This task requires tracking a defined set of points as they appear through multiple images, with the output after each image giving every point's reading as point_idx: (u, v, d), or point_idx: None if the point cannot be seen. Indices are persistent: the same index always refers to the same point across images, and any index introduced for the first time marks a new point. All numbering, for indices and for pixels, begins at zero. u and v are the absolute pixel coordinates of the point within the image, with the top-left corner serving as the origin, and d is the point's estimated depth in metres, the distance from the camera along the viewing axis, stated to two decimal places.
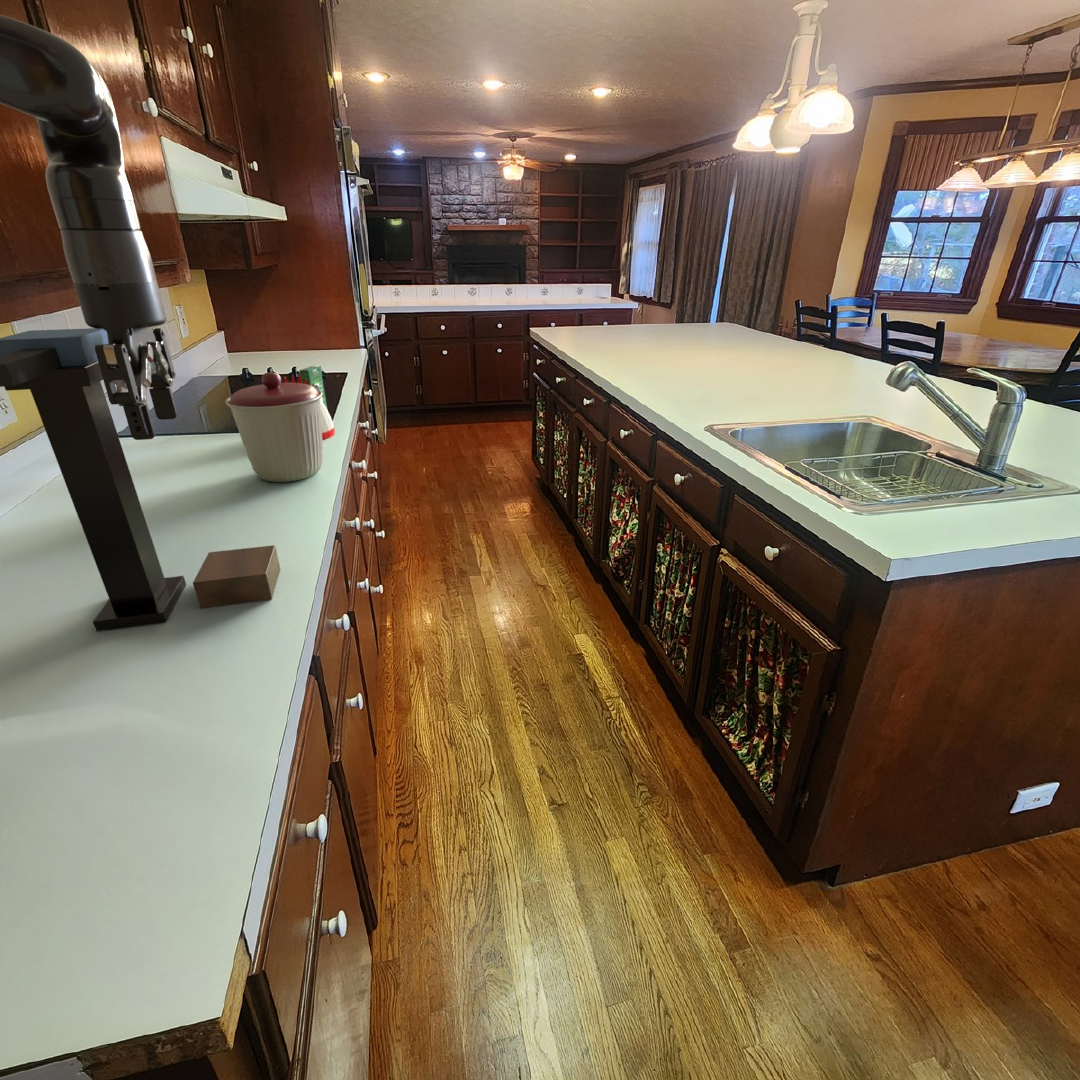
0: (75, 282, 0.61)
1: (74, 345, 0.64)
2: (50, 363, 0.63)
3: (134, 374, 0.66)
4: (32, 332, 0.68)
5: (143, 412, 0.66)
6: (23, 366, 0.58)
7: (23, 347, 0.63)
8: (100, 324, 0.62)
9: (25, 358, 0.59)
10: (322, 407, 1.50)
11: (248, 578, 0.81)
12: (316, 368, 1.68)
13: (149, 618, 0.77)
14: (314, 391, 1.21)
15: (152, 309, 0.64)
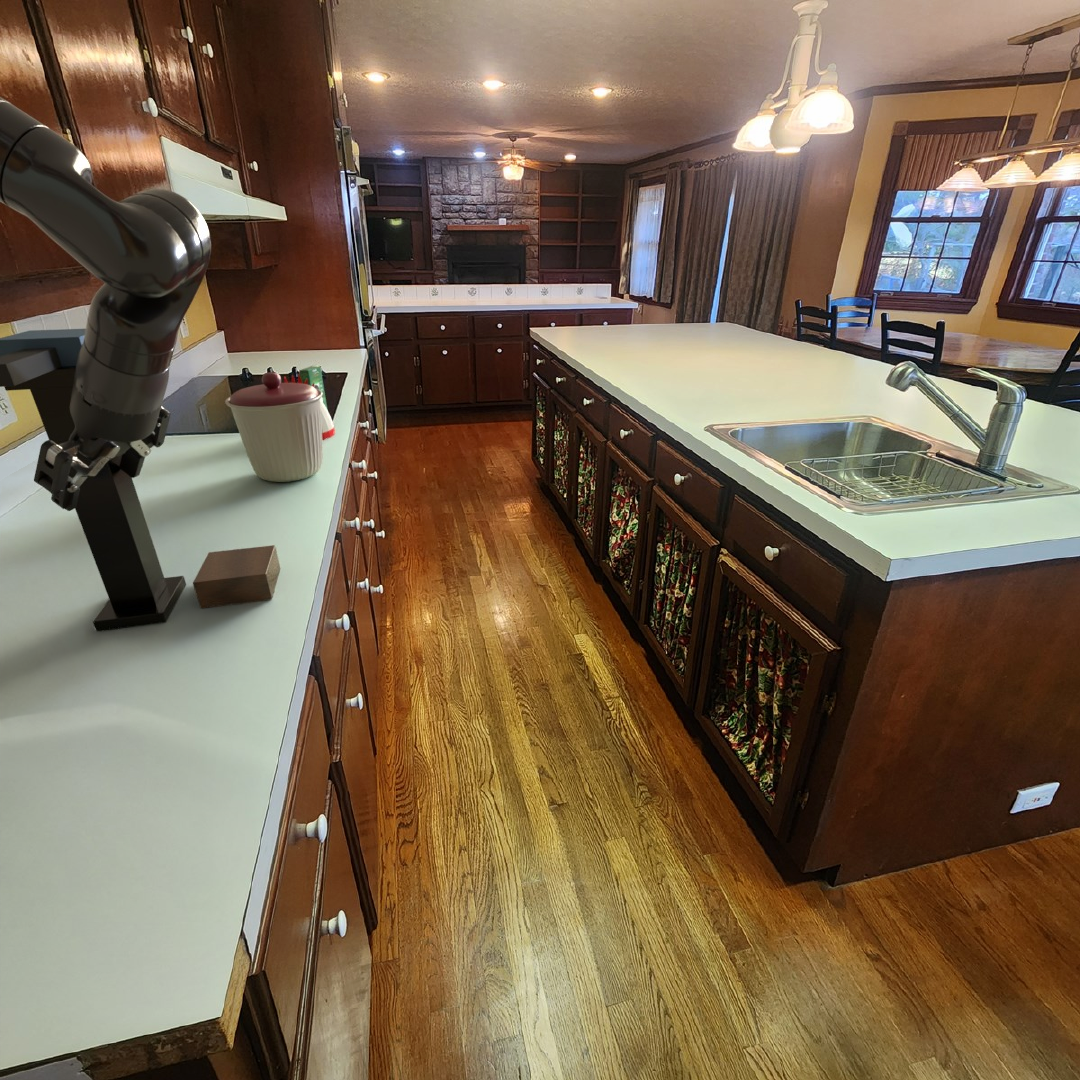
0: None
1: (74, 345, 0.64)
2: (50, 363, 0.63)
3: None
4: (32, 332, 0.68)
5: (70, 493, 0.65)
6: (23, 366, 0.58)
7: (23, 347, 0.63)
8: (73, 418, 0.61)
9: (25, 358, 0.59)
10: (322, 407, 1.50)
11: (248, 578, 0.81)
12: (316, 368, 1.68)
13: (149, 618, 0.77)
14: (314, 391, 1.21)
15: (130, 433, 0.62)
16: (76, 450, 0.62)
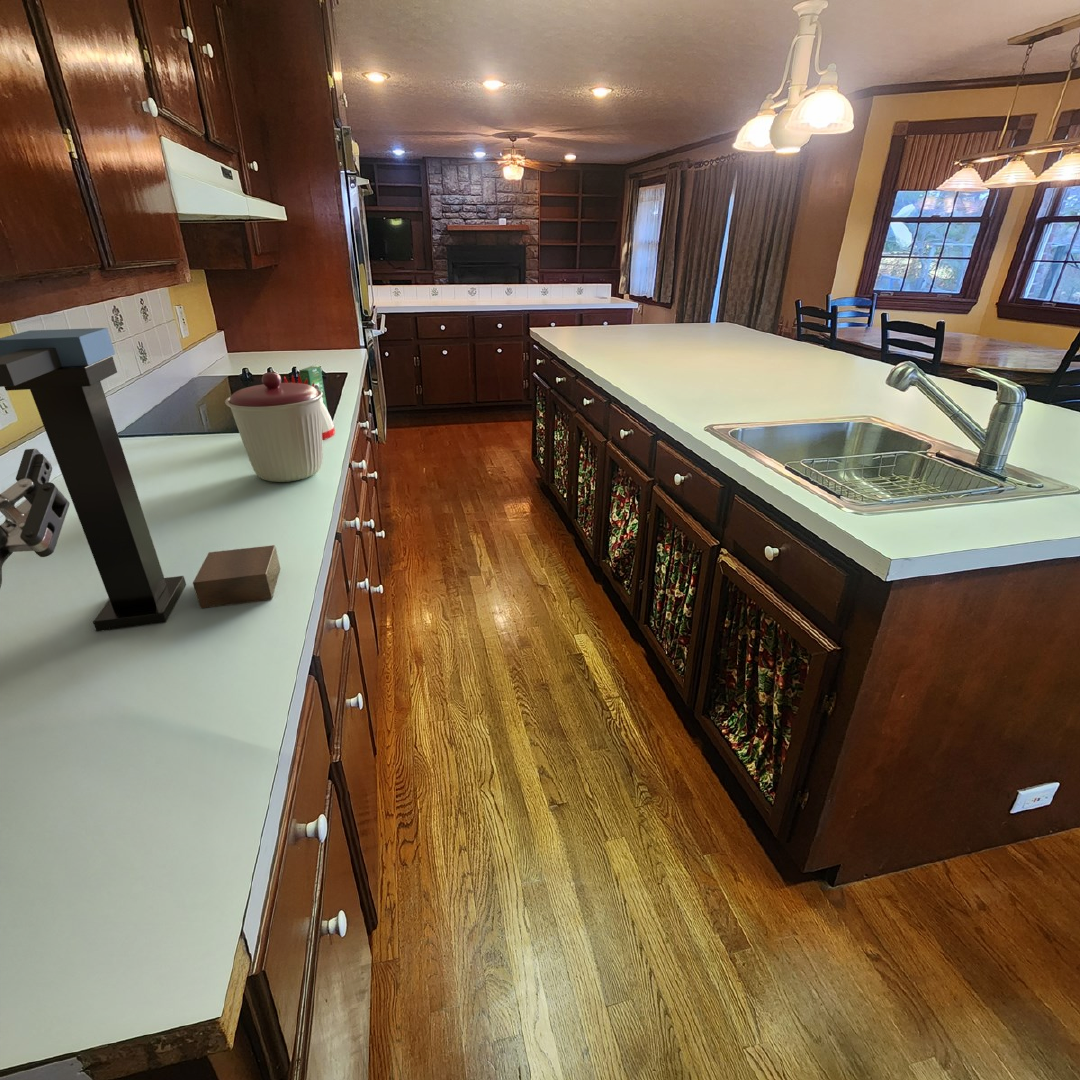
0: None
1: (74, 345, 0.64)
2: (50, 363, 0.63)
3: None
4: (32, 332, 0.68)
5: None
6: (23, 366, 0.58)
7: (23, 347, 0.63)
8: None
9: (25, 358, 0.59)
10: (322, 407, 1.50)
11: (248, 578, 0.81)
12: (316, 368, 1.68)
13: (149, 618, 0.77)
14: (314, 391, 1.21)
15: None
16: None
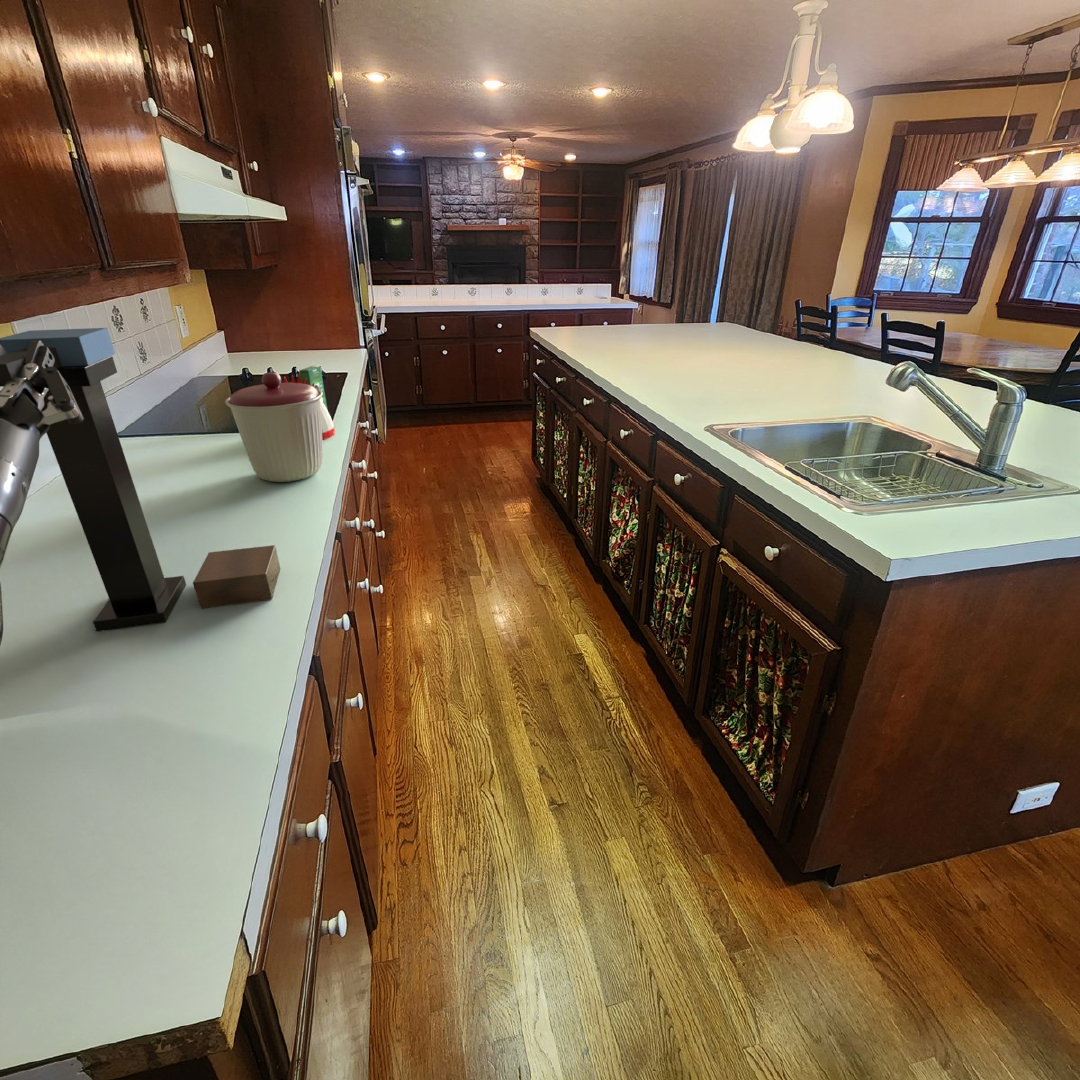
0: None
1: (74, 345, 0.64)
2: None
3: None
4: (32, 332, 0.68)
5: None
6: (23, 365, 0.58)
7: (23, 347, 0.63)
8: None
9: None
10: (322, 407, 1.50)
11: (248, 578, 0.81)
12: (316, 368, 1.68)
13: (149, 618, 0.77)
14: (314, 391, 1.21)
15: None
16: None
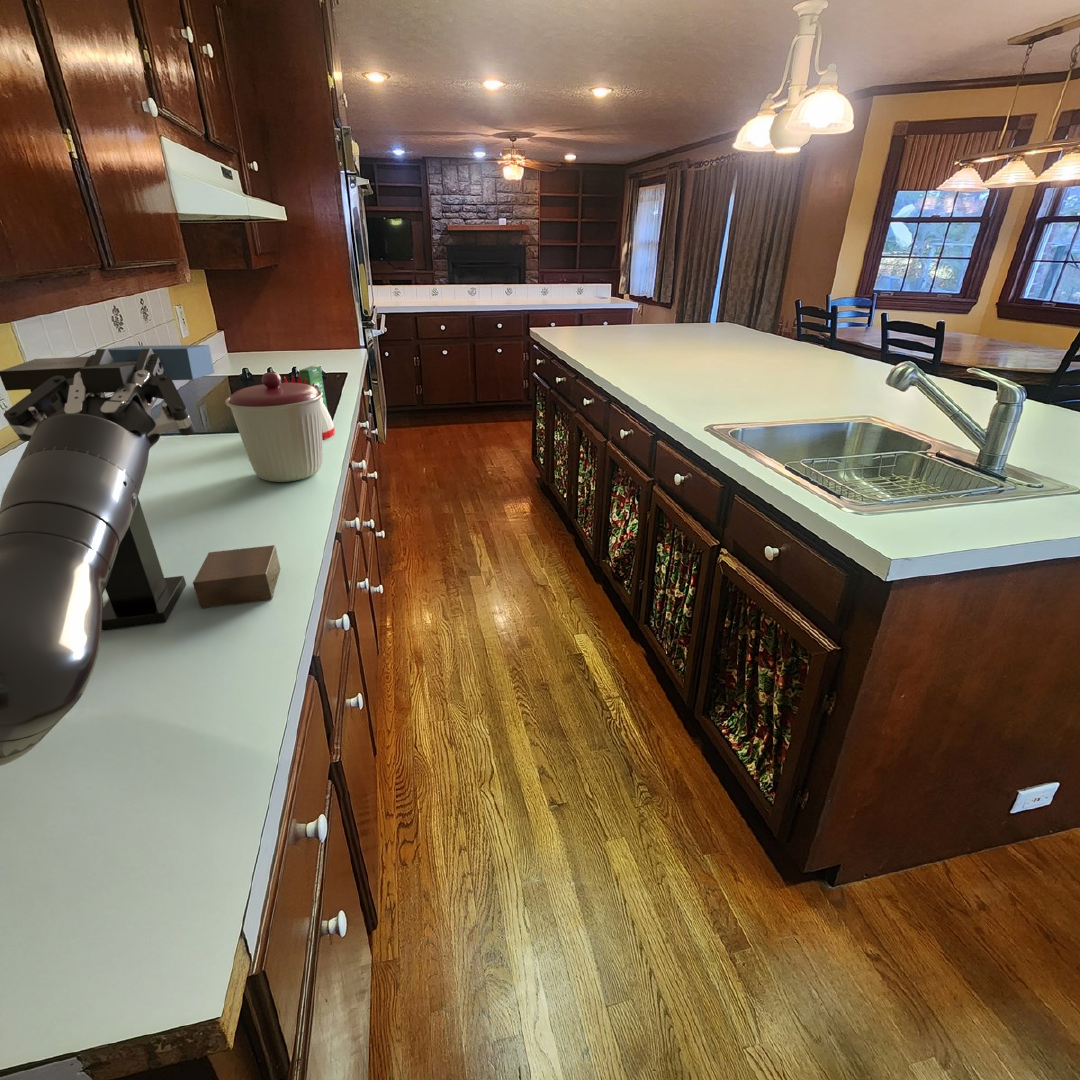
0: (21, 461, 0.43)
1: (181, 357, 0.60)
2: None
3: None
4: None
5: None
6: (133, 372, 0.53)
7: (128, 358, 0.59)
8: None
9: None
10: (322, 407, 1.50)
11: (248, 578, 0.81)
12: (316, 368, 1.68)
13: (149, 618, 0.77)
14: (314, 391, 1.21)
15: None
16: None
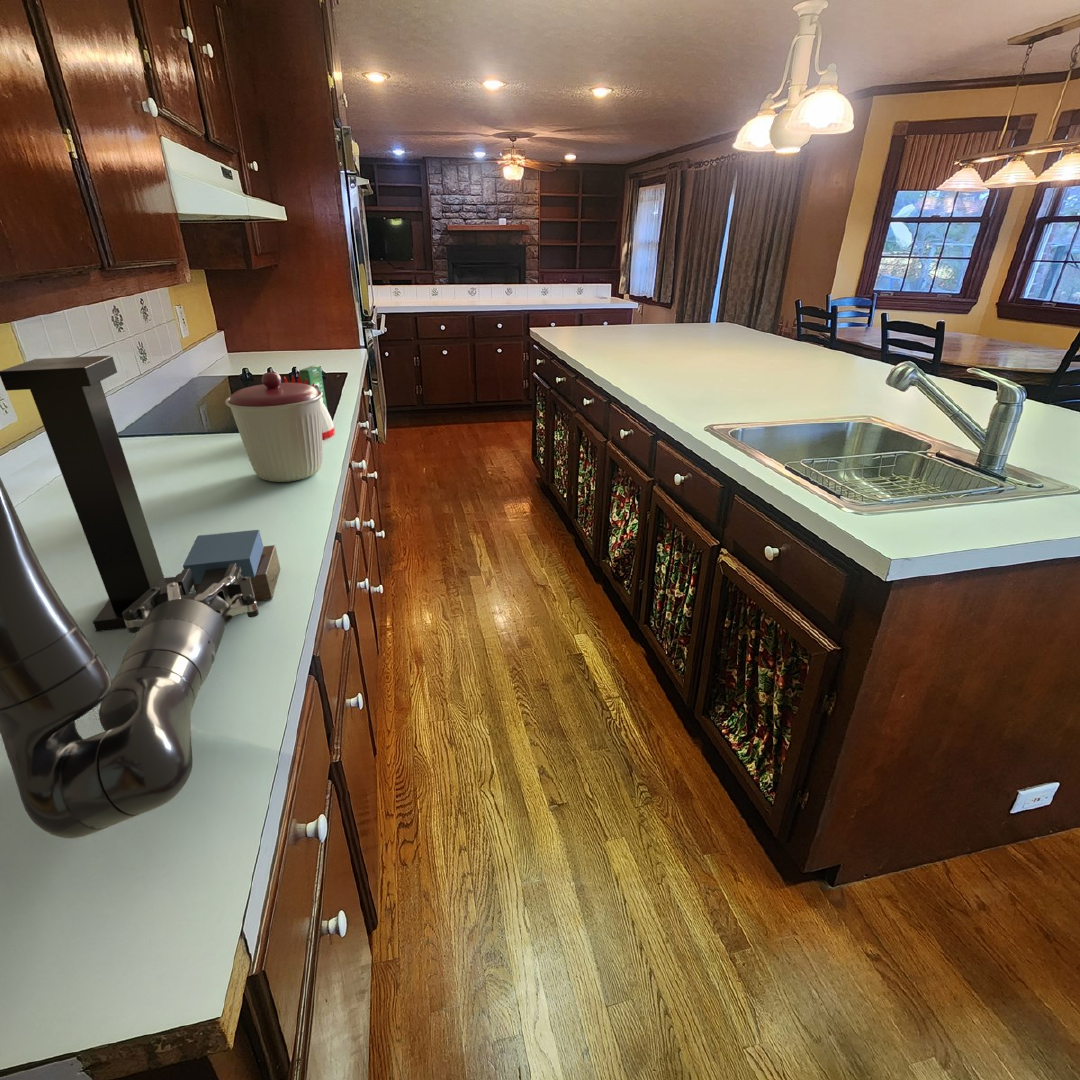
0: (139, 630, 0.60)
1: (245, 564, 0.79)
2: None
3: None
4: (203, 542, 0.82)
5: None
6: None
7: (206, 569, 0.78)
8: None
9: None
10: (322, 407, 1.50)
11: None
12: (316, 368, 1.68)
13: None
14: (314, 391, 1.21)
15: None
16: None
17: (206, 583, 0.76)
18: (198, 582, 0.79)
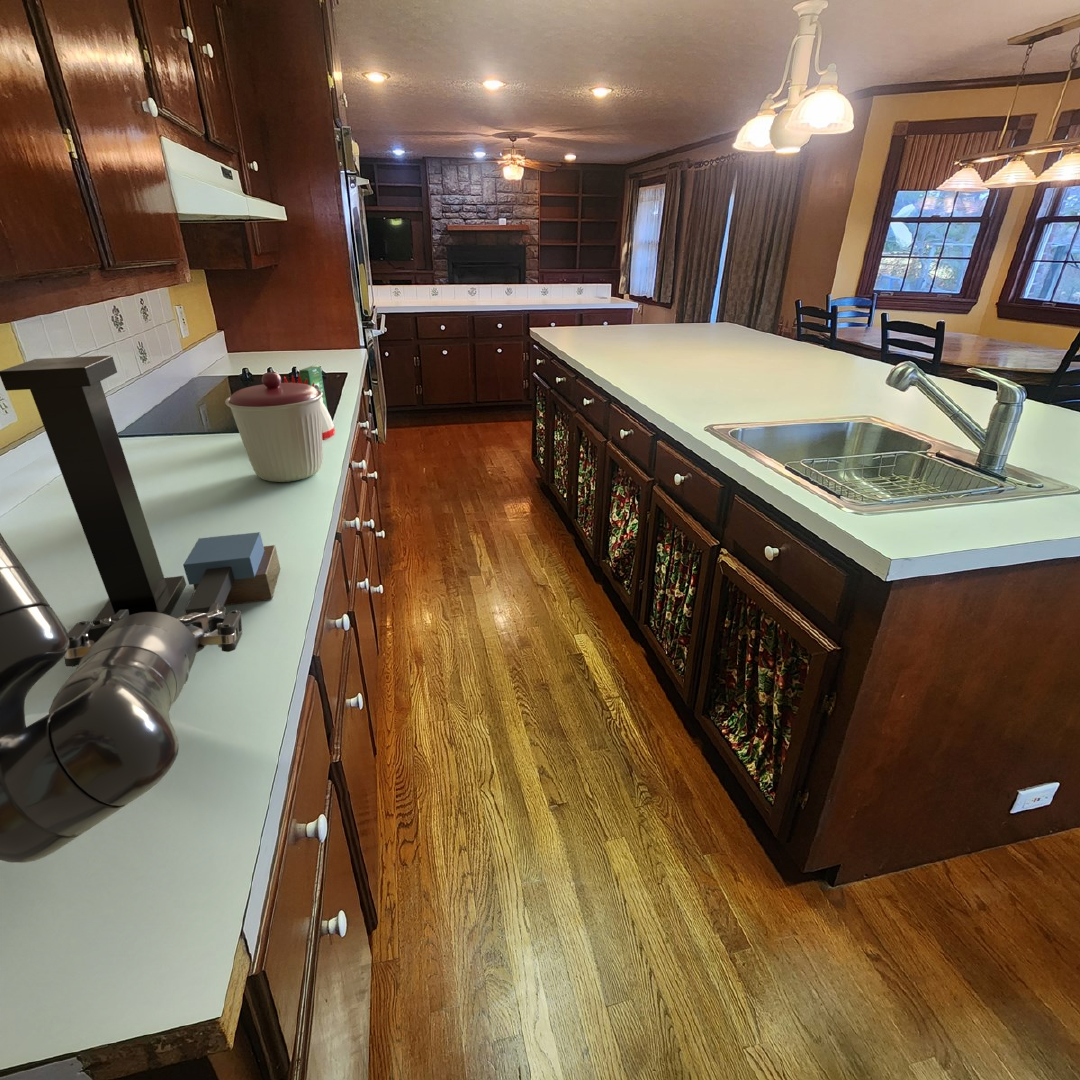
0: (101, 638, 0.50)
1: (245, 563, 0.79)
2: (230, 582, 0.78)
3: None
4: (204, 543, 0.83)
5: None
6: (219, 599, 0.73)
7: (206, 568, 0.78)
8: None
9: (219, 591, 0.73)
10: (322, 407, 1.50)
11: (248, 578, 0.81)
12: (316, 368, 1.68)
13: None
14: (314, 391, 1.21)
15: None
16: None
17: (206, 581, 0.76)
18: (198, 582, 0.79)
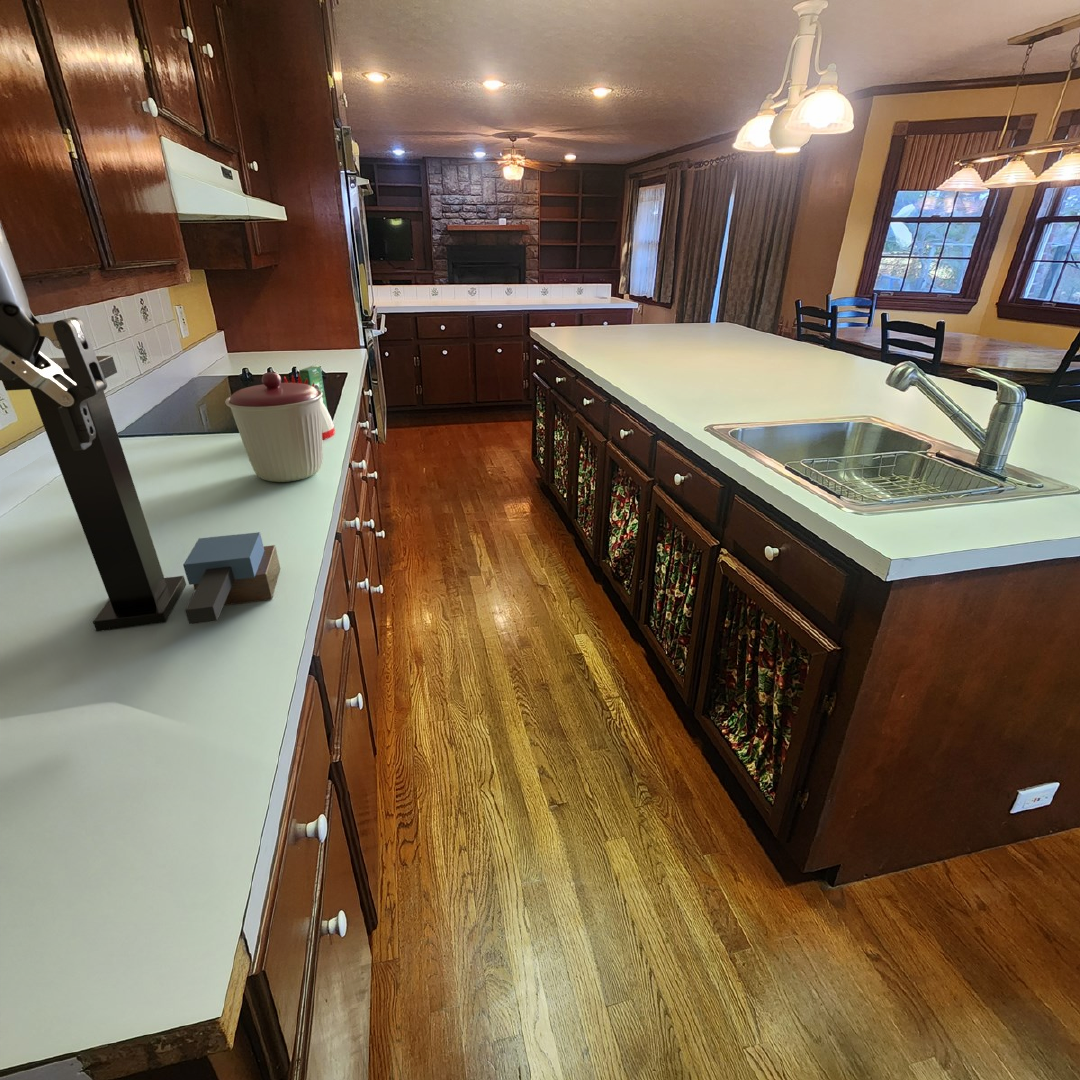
0: None
1: (245, 563, 0.79)
2: (230, 582, 0.78)
3: None
4: (204, 543, 0.83)
5: None
6: (219, 599, 0.73)
7: (206, 568, 0.78)
8: None
9: (219, 591, 0.73)
10: (322, 407, 1.50)
11: (248, 578, 0.81)
12: (316, 368, 1.68)
13: (149, 618, 0.77)
14: (314, 391, 1.21)
15: None
16: None
17: (206, 581, 0.76)
18: (198, 582, 0.79)
